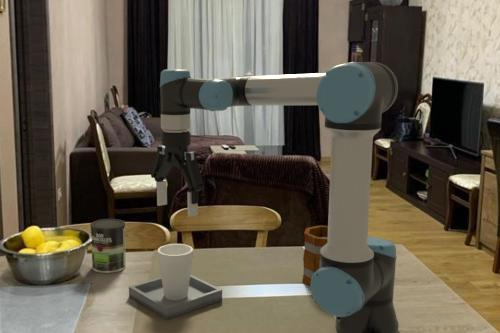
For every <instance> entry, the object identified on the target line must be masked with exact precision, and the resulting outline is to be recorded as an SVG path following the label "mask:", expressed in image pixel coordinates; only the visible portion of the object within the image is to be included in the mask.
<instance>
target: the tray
mask: <svg viewBox="0 0 500 333" xmlns="http://www.w3.org/2000/svg"><path fill="white" fill-rule="evenodd" d="M128 297H129V298H130V299H131V300H133V301H134V302H136V303H138V304H140V305H141V306H143V307H144V308H147V309H149V311H152V312H153V313H155V314H156V315H158V316H160V317H162V318H163V319H165V320H171V319H173V318H176V317H179V316H181V315H185V314H187V313H189V312H193V311H195V310H198V309H201V308H203V307H206V306H209V305H212V304H214V303H215V304H216V303H218V302H221V301H223V289H221V288H220V287H217V286H215V285H213V284H211V283H209V282H207V281H205V280H203V279H201V278H199V277H196V275H195V276H194V275H193V274H191V273H190V281H189V289H188V295H187V297H186V298H183V299H180V300H170V299H167V298H165V296H164V291H163V285H162V278H161V276H160V277H157V278H153V279H150V280H147V281H146V280H145V281H144V282H139V283H137V284H133V285H130V286H128Z"/></svg>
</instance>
